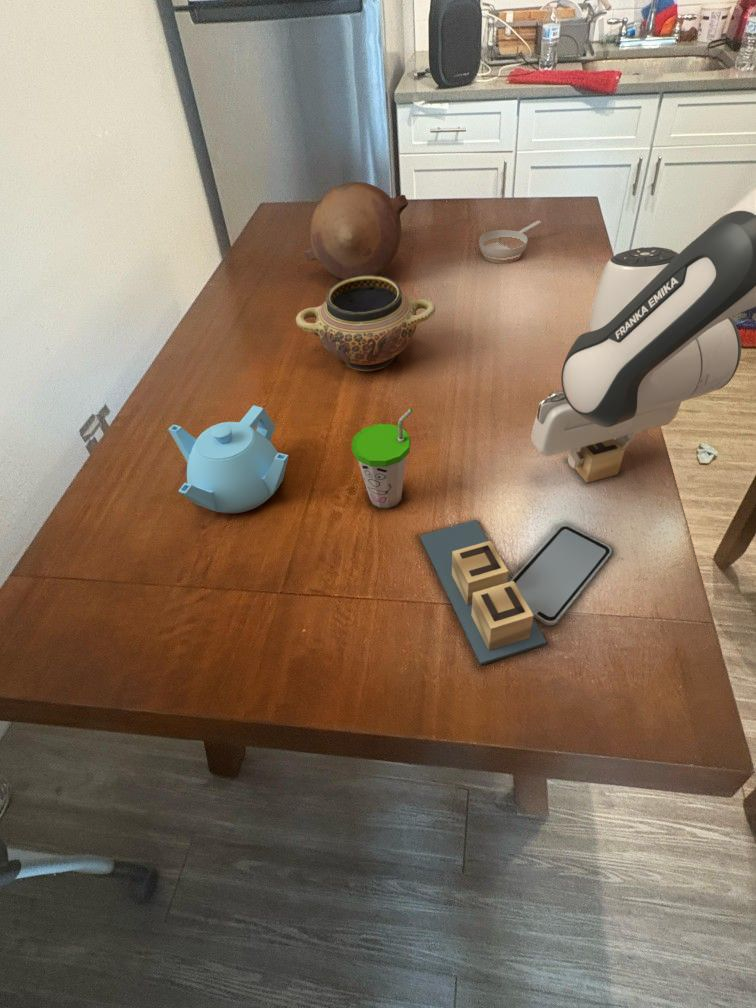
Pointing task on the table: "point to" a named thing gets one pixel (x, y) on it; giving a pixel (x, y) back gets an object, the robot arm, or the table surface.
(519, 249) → the saucepan
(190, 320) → the table surface
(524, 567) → the smartphone
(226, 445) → the teapot
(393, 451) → the cup
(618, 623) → the table surface
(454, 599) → the mat
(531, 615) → the tile
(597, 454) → the tile
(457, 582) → the tile
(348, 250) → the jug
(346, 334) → the ceramic bowl
